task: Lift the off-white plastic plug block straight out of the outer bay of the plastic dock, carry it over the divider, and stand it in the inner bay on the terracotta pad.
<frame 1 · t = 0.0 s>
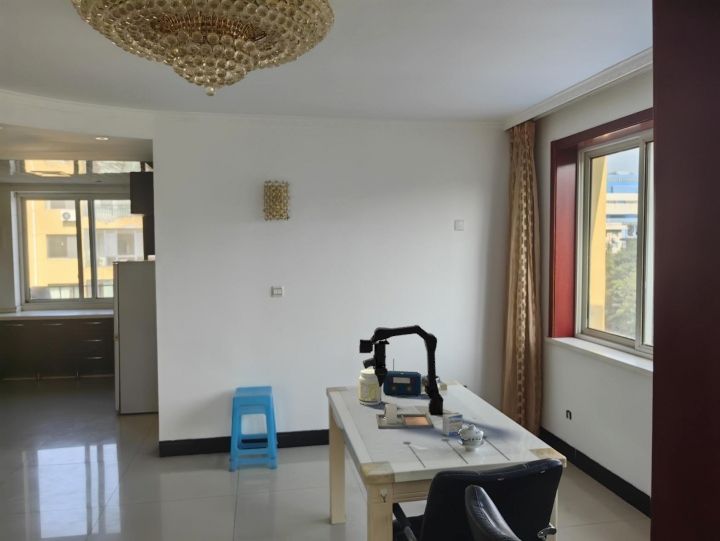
hand: (379, 384, 261), 15 cm above the table, tool pointing down, fingers open, 9 cm apart
plug: (390, 422, 248), resting on dock
medicine box: (452, 434, 234), on the table
supplement tub: (370, 402, 281), on the table
dock: (403, 422, 248), on the table
radio: (402, 394, 297), on the table
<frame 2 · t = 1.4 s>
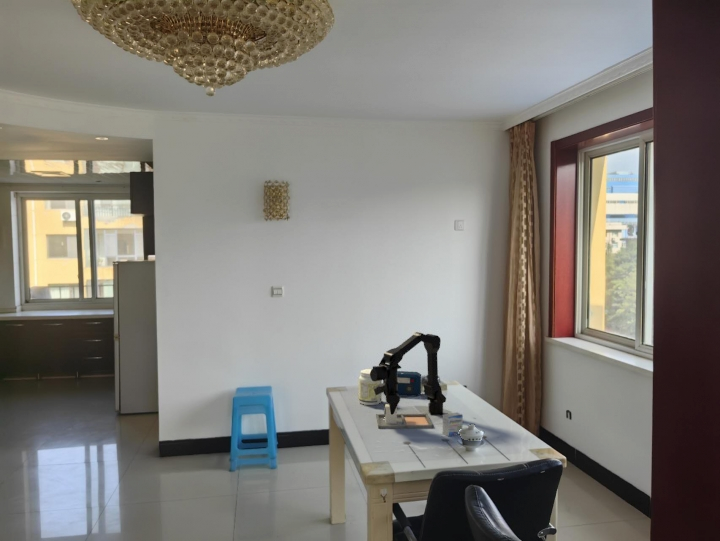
hand: (391, 411, 248), 5 cm above the table, tool pointing down, fingers open, 9 cm apart
nothing on the table moved.
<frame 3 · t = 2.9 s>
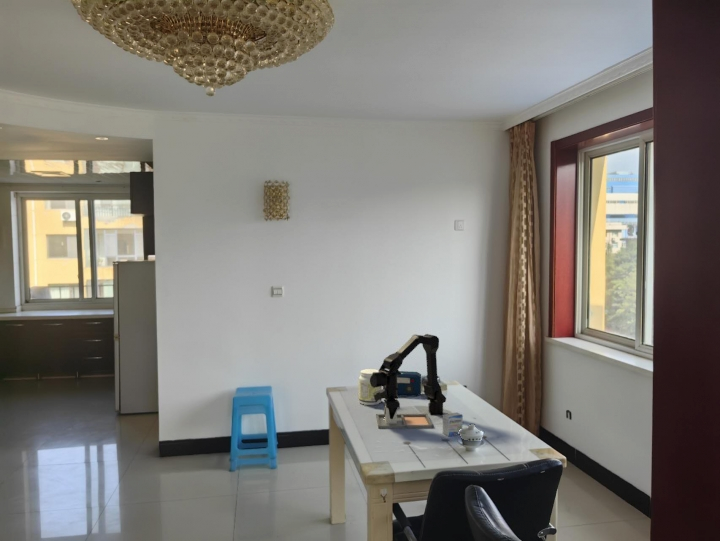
hand: (390, 417, 248), 3 cm above the table, tool pointing down, fingers closed on plug, 4 cm apart
plug: (390, 422, 248), resting on dock, touching gripper
everything else where it was.
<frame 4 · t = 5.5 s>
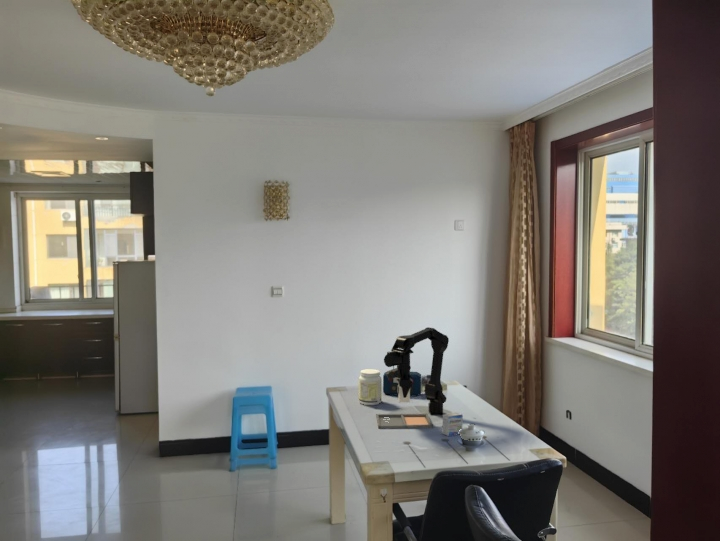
hand: (404, 396, 248), 13 cm above the table, tool pointing down, fingers closed on plug, 4 cm apart
plug: (404, 401, 248), point 10 cm above the table, touching gripper
everything else where it was.
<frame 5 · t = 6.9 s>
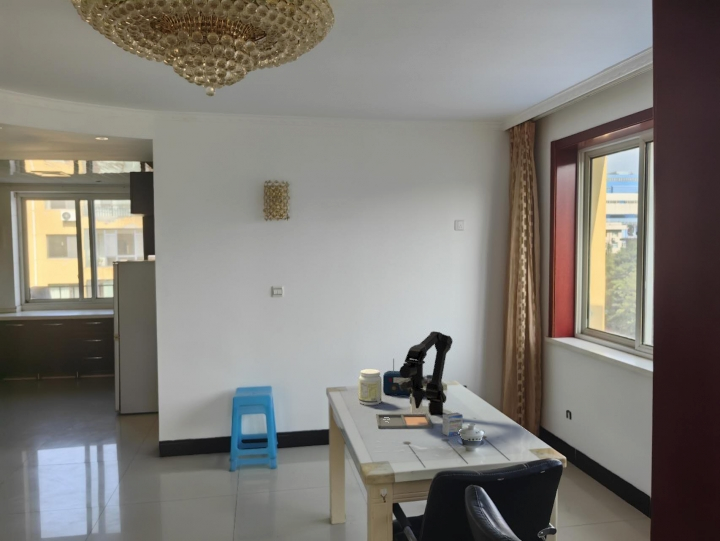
hand: (416, 406, 248), 8 cm above the table, tool pointing down, fingers closed on plug, 4 cm apart
plug: (416, 411, 248), point 5 cm above the table, touching gripper
everything else where it was.
when the fingers open (4 cm above the table, at t = 8.2 s): plug drops 1 cm, resting on dock.
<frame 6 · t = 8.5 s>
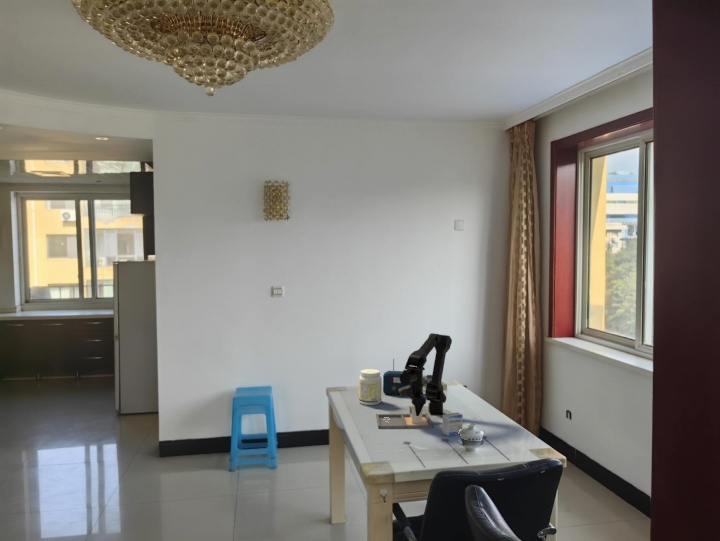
hand: (416, 413, 248), 4 cm above the table, tool pointing down, fingers open, 7 cm apart
plug: (416, 421, 248), resting on dock
everything else where it was.
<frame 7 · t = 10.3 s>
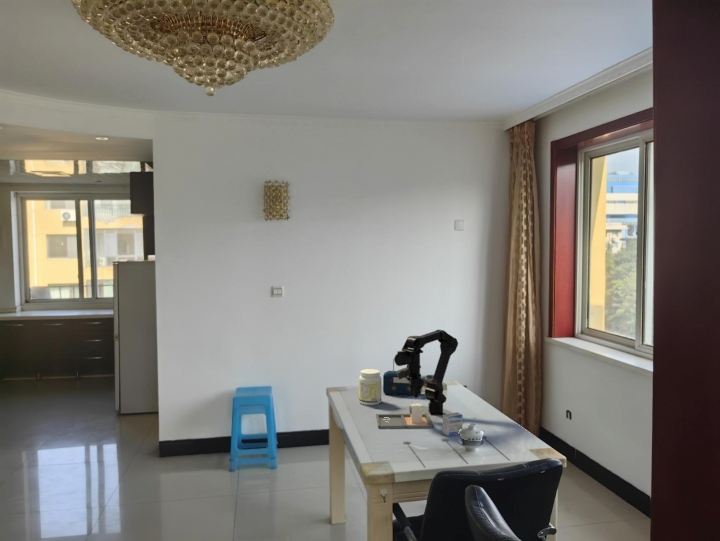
hand: (414, 395, 253), 12 cm above the table, tool pointing down, fingers open, 9 cm apart
nothing on the table moved.
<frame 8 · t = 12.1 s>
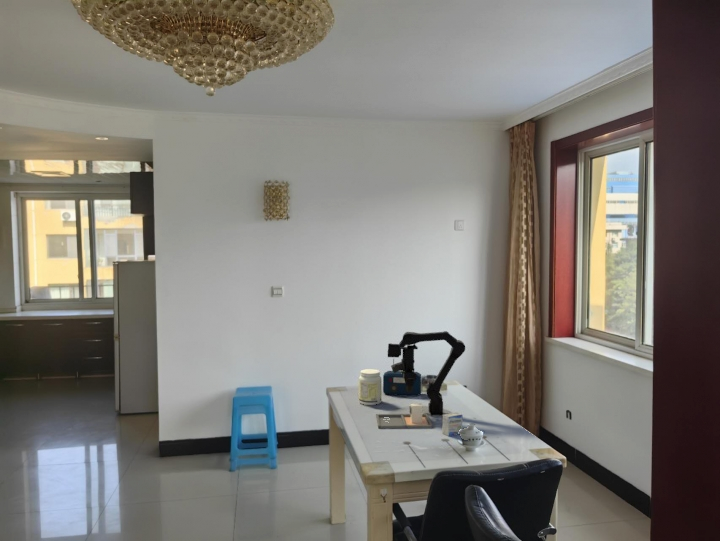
hand: (408, 388, 264), 12 cm above the table, tool pointing down, fingers open, 9 cm apart
nothing on the table moved.
at the end: plug 0.0 cm from the target spot, point 0.5 cm above the table; plug tilted 0°; the gripper is holding nothing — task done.
